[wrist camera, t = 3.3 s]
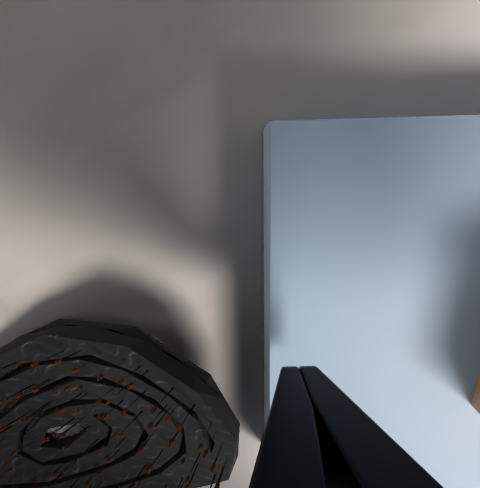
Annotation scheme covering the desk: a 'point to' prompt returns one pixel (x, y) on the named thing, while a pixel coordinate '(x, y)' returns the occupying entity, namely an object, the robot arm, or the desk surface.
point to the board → (380, 274)
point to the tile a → (476, 395)
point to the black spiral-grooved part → (110, 412)
